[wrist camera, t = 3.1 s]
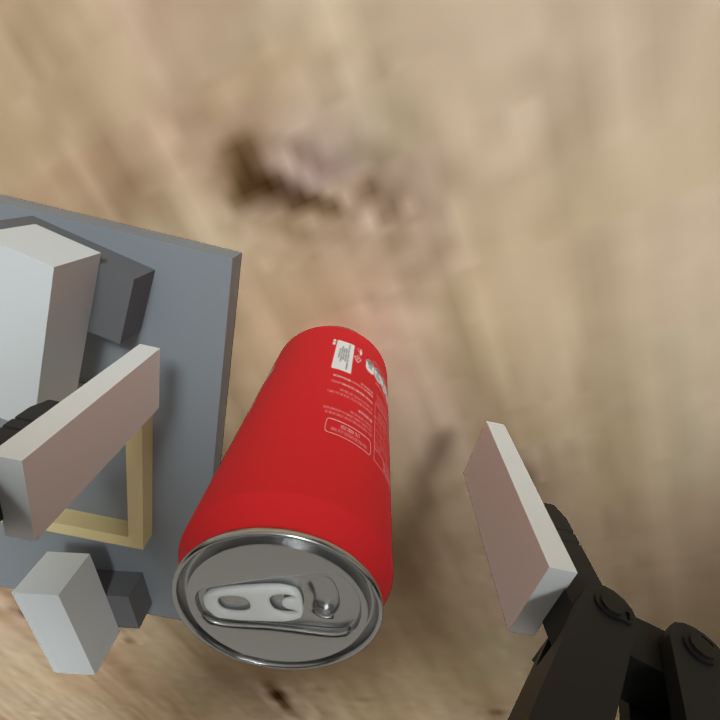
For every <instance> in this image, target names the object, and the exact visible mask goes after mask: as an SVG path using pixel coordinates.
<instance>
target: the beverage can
mask: <svg viewBox="0 0 720 720" xmlns="http://www.w3.org/2000/svg"><path fill="white" fill-rule="evenodd" d="M178 564H179V566H178V567H177V569H176V572H175V575H174V578H173V583H172V597H173V602H174V605H175V608H176V610H177V612H178V614H179V616H180V618H181V619H182V621H183V622H184V623H185V625H186V626H187V627H188V628H189V629H190V631H191V632H193V633H194V634H195V635H196V636H197V637H198V638H199V639H200V640H202V641H203V642H204V643H206V644H207V645H209V646H210V647H212V648H214V649H215V650H217V651H219V652H221V653H223V654H225V655H227V656H229V657H231V658H233V659H235V660H238V661H242V662H245V663H249V664H253V665H257V666H262V667H268V668H275V669H290V670H297V669H311V668H318V667H323V666H328V665H331V664H335V663H338V662H340V661H343V660H345V659H347V658H349V657H351V656H353V655H355V654H356V653H358V652H359V651H361V650H362V649H363V648H365V647H366V646H367V645H368V644H369V643H370V642H371V641H372V639H373V638H374V637H375V635H376V634H377V632H378V630H379V628H380V625H381V622H382V618H383V605H384V604H385V602H386V600H387V598H388V596H389V594H390V591H391V587H392V582H393V550H392V518H391V487H390V455H389V424H388V392H387V372H386V367H385V364H384V361H383V359H382V357H381V355H380V353H379V352H378V350H377V349H376V348H375V347H374V345H373V344H372V343H371V342H369V341H368V340H367V339H366V338H364V337H363V336H361V335H360V334H358V333H357V332H355V331H353V330H350V329H348V328H344V327H340V326H322V327H316V328H312V329H309V330H306V331H304V332H302V333H300V334H298V335H297V336H295V337H294V338H293V339H291V340H290V341H289V342H288V343H287V344H286V346H285V347H284V348H283V350H282V351H281V353H280V355H279V357H278V359H277V360H276V362H275V364H274V366H273V368H272V370H271V372H270V373H269V375H268V377H267V379H266V381H265V383H264V384H263V386H262V388H261V390H260V392H259V394H258V396H257V397H256V399H255V401H254V403H253V405H252V407H251V408H250V410H249V412H248V414H247V416H246V418H245V419H244V421H243V423H242V425H241V427H240V429H239V431H238V432H237V434H236V436H235V438H234V440H233V442H232V443H231V445H230V447H229V449H228V451H227V453H226V455H225V456H224V458H223V460H222V462H221V464H220V466H219V467H218V469H217V471H216V473H215V475H214V477H213V479H212V480H211V482H210V484H209V486H208V488H207V490H206V491H205V493H204V495H203V497H202V499H201V501H200V503H199V504H198V506H197V508H196V510H195V512H194V514H193V515H192V517H191V519H190V521H189V523H188V525H187V527H186V528H185V530H184V532H183V535H182V537H181V540H180V544H179V549H178Z"/></svg>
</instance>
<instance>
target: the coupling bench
mask: <svg viewBox="0 0 720 720" xmlns="http://www.w3.org/2000/svg"><path fill="white" fill-rule="evenodd" d="M241 256H242V253H241V252H237V251H233V250H229V249H225V248H220V247H216V246H212V245H208V244H204V243H200V242H195V241H191V240H187V239H183V238H179V237H175V236H171V235H166V234H162V233H158V232H154V231H150V230H146V229H141V228H137V227H133V226H129V225H125V224H121V223H116V222H112V221H108V220H104V219H100V218H96V217H92V216H87V215H83V214H79V213H75V212H71V211H67V210H62V209H58V208H54V207H50V206H46V205H42V204H37V203H33V202H29V201H25V200H21V199H17V198H13V197H8V196H4V195H0V427H1V428H2V427H3V425H4V424H5V423H7V422H8V421H10V420H11V419H15V417H16V416H17V415H18V414H20V413H21V412H23V411H24V410H26V409H27V408H29V407H31V406H33V405H36V404H39V403H41V402H44V401H47V400H54V401H59V402H61V401H62V400H63V399H65V398H66V397H68V396H69V395H70V394H72V393H73V392H74V391H76V390H77V389H79V388H80V387H81V386H83V385H84V384H85V383H87V382H88V381H90V380H91V379H92V378H94V377H95V376H96V375H98V374H99V373H101V372H102V371H103V370H105V369H106V368H107V367H109V366H110V365H112V364H113V363H114V362H116V361H117V360H118V359H120V358H121V357H123V356H124V355H125V354H127V353H128V352H129V351H131V350H132V349H134V348H135V347H136V346H138V345H139V344H143V345H148V346H152V347H157V348H160V379H159V408H158V409H157V410H156V411H155V413H154V414H153V415H152V416H151V417H150V418H149V419H148V420H147V421H146V422H145V423H144V424H143V426H142V427H141V428H140V429H139V430H138V431H137V432H136V433H135V434H134V435H133V436H132V437H131V439H130V440H129V441H128V442H127V443H126V444H125V445H124V446H123V447H122V448H121V449H120V450H119V452H118V453H117V454H116V455H115V456H114V457H113V458H112V459H111V460H110V461H109V462H108V463H107V465H106V466H105V467H104V468H103V469H102V470H101V471H100V472H99V473H98V474H97V475H96V476H95V477H94V479H93V480H92V481H91V482H90V483H89V484H88V485H87V486H86V487H85V488H84V489H83V490H82V492H81V493H80V494H79V495H78V496H77V497H76V498H75V499H74V500H73V501H72V502H71V503H70V505H69V506H68V507H67V508H66V509H65V510H64V511H63V512H62V513H61V514H60V515H59V516H58V518H57V519H56V520H55V521H54V522H53V523H52V524H51V525H50V526H49V527H48V528H47V529H46V531H45V532H44V533H43V534H42V535H41V536H40V537H39V538H38V539H37V540H36V541H30V540H25V539H19V538H14V537H9V536H5V531H4V526H3V521H1V522H0V586H1V587H6V588H12V589H14V590H13V591H12V595H13V596H14V598H15V600H16V602H17V604H18V606H19V607H20V609H21V611H22V613H23V615H24V617H25V619H26V620H27V622H28V624H29V626H30V628H31V630H32V632H33V633H34V635H35V637H36V639H37V641H38V643H39V645H40V646H41V648H42V650H43V652H44V654H45V656H46V658H47V659H48V661H49V663H50V665H51V667H52V669H53V671H54V672H55V673H70V674H85V675H96V673H97V671H98V670H99V668H100V666H101V664H102V663H103V661H104V659H105V657H106V655H107V654H108V652H109V650H110V648H111V647H112V645H113V643H114V641H115V640H116V638H117V636H118V634H119V632H120V630H119V628H118V627H125V628H140V626H141V624H142V622H143V620H144V618H145V616H146V614H151V615H156V616H162V617H167V618H172V619H178V620H182V619H181V618H180V616H179V614H178V612H177V610H176V608H175V605H174V602H173V597H172V583H173V578H174V575H175V572H176V569H177V567H178V566H179V564H178V549H179V544H180V540H181V537H182V535H183V532H184V530H185V528H186V527H187V525H188V523H189V521H190V519H191V517H192V515H193V514H194V512H195V510H196V508H197V506H198V504H199V503H200V501H201V499H202V497H203V495H204V493H205V491H206V490H207V488H208V486H209V484H210V482H211V480H212V479H213V477H214V475H215V473H216V471H217V469H218V467H219V466H220V463H221V453H222V444H223V434H224V424H225V414H226V404H227V394H228V384H229V374H230V364H231V355H232V345H233V335H234V325H235V315H236V305H237V295H238V285H239V276H240V266H241Z"/></svg>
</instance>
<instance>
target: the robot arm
mask: <svg viewBox="0 0 720 720" xmlns="http://www.w3.org/2000/svg"><path fill="white" fill-rule="evenodd" d="M159 379H160V348H157V347H152V346H148V345H143V344H139V345H138V346H136V347H135V348H134V349H132V350H131V351H129V352H128V353H127V354H125V355H124V356H123V357H121V358H120V359H118V360H117V361H116V362H114V363H113V364H112V365H110V366H109V367H107V368H106V369H105V370H103V371H102V372H101V373H99V374H98V375H96V376H95V377H94V378H92V379H91V380H90V381H88V382H87V383H85V384H84V385H83V386H81V387H80V388H79V389H77V390H76V391H74V392H73V393H72V394H70V395H69V396H68V397H66V398H65V399H63V400H62V401H61V402H59V401H54V400H47V401H44V402H41V403H39V404H36V405H33V406H31V407H29V408H27V409H26V410H24V411H23V412H21V413H20V414H18V415H17V416H16V417H15V419H11V420H10V421H8V422H7V423H5V424H4V425H3V427H2V428H1V427H0V522H1V521H3V526H4V531H5V536H9V537H14V538H19V539H25V540H30V541H36V540H37V539H38V538H39V537H40V536H41V535H42V534H43V533H44V532H45V531H46V529H47V528H48V527H49V526H50V525H51V524H52V523H53V522H54V521H55V520H56V519H57V518H58V516H59V515H60V514H61V513H62V512H63V511H64V510H65V509H66V508H67V507H68V506H69V505H70V503H71V502H72V501H73V500H74V499H75V498H76V497H77V496H78V495H79V494H80V493H81V492H82V490H83V489H84V488H85V487H86V486H87V485H88V484H89V483H90V482H91V481H92V480H93V479H94V477H95V476H96V475H97V474H98V473H99V472H100V471H101V470H102V469H103V468H104V467H105V466H106V465H107V463H108V462H109V461H110V460H111V459H112V458H113V457H114V456H115V455H116V454H117V453H118V452H119V450H120V449H121V448H122V447H123V446H124V445H125V444H126V443H127V442H128V441H129V440H130V439H131V437H132V436H133V435H134V434H135V433H136V432H137V431H138V430H139V429H140V428H141V427H142V426H143V424H144V423H145V422H146V421H147V420H148V419H149V418H150V417H151V416H152V415H153V414H154V413H155V411H156V410H157V409H158V408H159ZM463 473H464V477H465V480H466V484H467V487H468V491H469V494H470V498H471V501H472V505H473V509H474V512H475V516H476V519H477V523H478V526H479V530H480V533H481V537H482V540H483V544H484V548H485V551H486V555H487V558H488V562H489V565H490V569H491V572H492V576H493V579H494V583H495V587H496V590H497V594H498V597H499V601H500V604H501V608H502V611H503V615H504V618H505V622H506V626H507V629H508V631H509V632H514V633H519V634H525V635H530V636H534V635H535V634H536V632H537V631H538V629H539V628H540V626H541V625H542V624H543V625H544V628H545V630H546V633H547V636H548V639H547V640H546V641H545V643H544V644H543V645H542V647H541V648H540V650H539V651H538V652H537V654H536V655H535V657H534V658H533V659H532V661H534V662H535V663H534V665H533V667H532V669H531V671H530V674H529V676H528V678H527V680H526V682H525V684H524V686H523V688H522V690H521V693H520V695H519V697H518V699H517V701H516V703H515V705H514V707H513V710H512V712H511V714H510V716H509V718H508V720H615V717H616V713H617V709H618V705H619V714H620V720H720V649H719V648H718V647H717V646H716V644H714V643H713V642H712V641H711V640H710V639H709V638H708V637H707V636H706V635H704V634H703V633H701V632H700V631H698V630H697V629H695V628H694V627H692V626H689V625H687V624H684V623H677V622H674V623H673V624H672V625H670V626H669V627H668V628H667V629H666V631H663V630H661V629H659V628H657V627H655V626H653V625H651V624H649V623H646V622H644V621H642V620H640V619H638V618H636V617H635V615H634V613H633V611H632V609H631V608H630V607H629V605H628V604H627V603H626V602H625V600H624V599H623V598H621V597H620V596H619V595H618V594H617V593H616V592H614V591H612V590H611V589H609V588H607V587H606V586H603V585H602V584H601V582H600V580H599V578H598V577H597V575H596V573H595V571H594V569H593V567H592V565H591V564H590V562H589V560H588V558H587V556H586V554H585V553H584V551H583V549H582V547H581V546H580V545H579V541H578V540H577V538H576V536H575V534H573V530H572V528H571V527H570V525H569V523H568V521H567V519H566V518H565V517H564V516H563V514H562V513H561V512H560V511H559V510H558V509H557V508H556V507H555V506H554V505H551V504H546V503H543V502H542V500H541V498H540V496H539V494H538V492H537V490H536V488H535V486H534V484H533V482H532V480H531V478H530V476H529V474H528V472H527V470H526V468H525V466H524V464H523V462H522V460H521V458H520V456H519V454H518V451H517V449H516V447H515V445H514V443H513V441H512V439H511V437H510V435H509V433H508V431H507V429H506V427H505V425H503V424H498V423H494V422H489V421H486V422H485V425H484V427H483V429H482V431H481V434H480V436H479V438H478V441H477V443H476V445H475V447H474V450H473V452H472V454H471V456H470V459H469V461H468V463H467V466H466V468H465V470H464V472H463Z"/></svg>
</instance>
